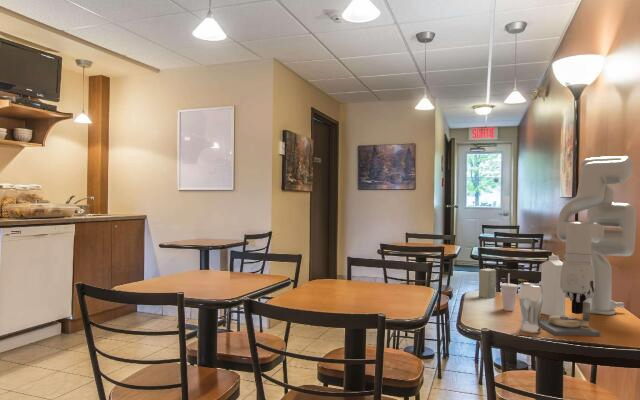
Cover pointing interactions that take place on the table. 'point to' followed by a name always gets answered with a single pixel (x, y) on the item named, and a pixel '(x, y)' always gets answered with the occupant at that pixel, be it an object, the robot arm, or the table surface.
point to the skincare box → (487, 283)
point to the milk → (552, 287)
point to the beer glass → (531, 306)
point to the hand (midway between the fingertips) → (577, 313)
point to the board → (567, 329)
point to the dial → (570, 321)
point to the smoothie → (509, 294)
